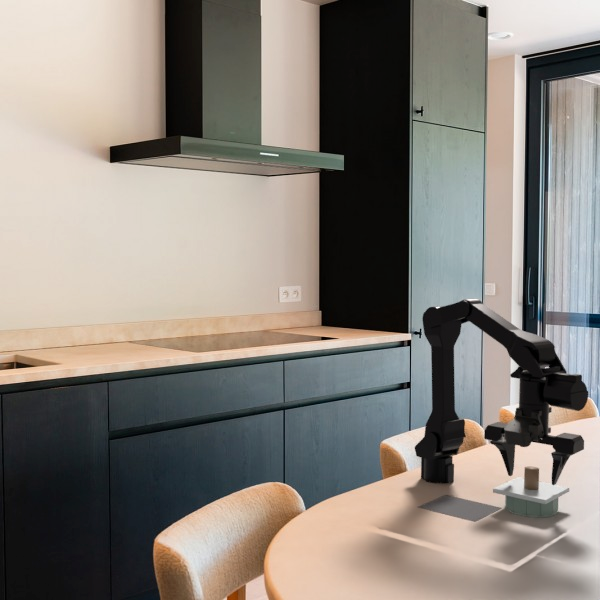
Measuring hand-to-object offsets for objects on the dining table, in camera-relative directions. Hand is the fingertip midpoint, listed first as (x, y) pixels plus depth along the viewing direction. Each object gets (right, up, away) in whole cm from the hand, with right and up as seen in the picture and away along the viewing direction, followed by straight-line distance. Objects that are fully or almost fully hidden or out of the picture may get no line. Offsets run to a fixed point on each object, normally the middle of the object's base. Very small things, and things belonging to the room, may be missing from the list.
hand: (531, 480), depth 164 cm
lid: (0, -2, 0) cm, 2 cm away
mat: (-14, -6, +1) cm, 16 cm away
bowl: (0, -6, 0) cm, 6 cm away
